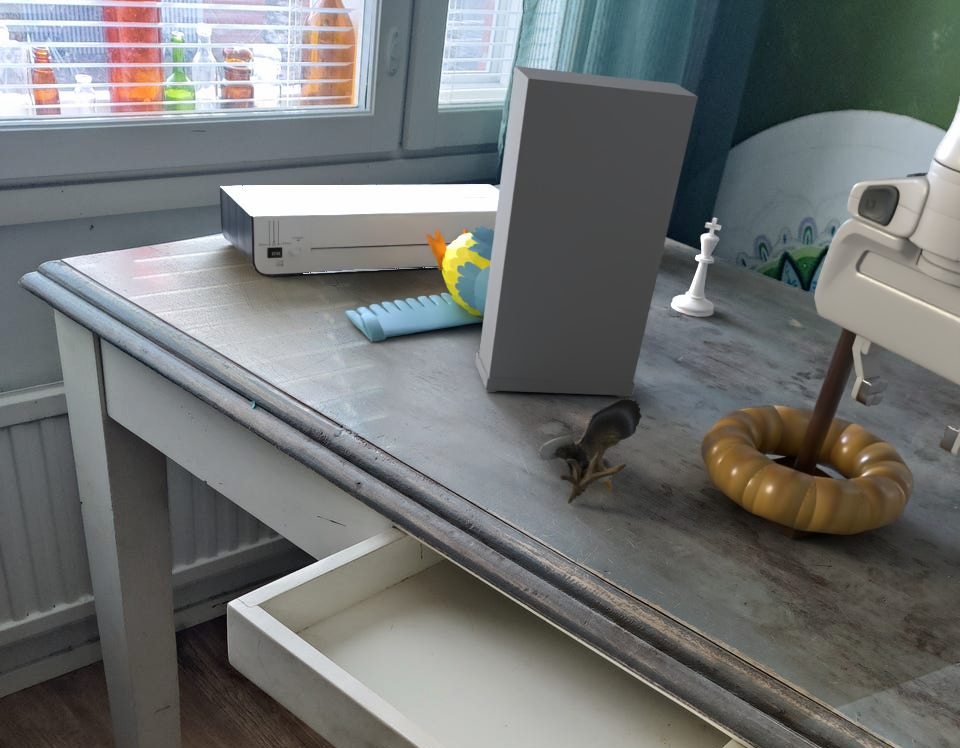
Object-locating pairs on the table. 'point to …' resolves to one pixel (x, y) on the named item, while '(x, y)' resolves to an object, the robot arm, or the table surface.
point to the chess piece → (699, 279)
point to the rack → (821, 419)
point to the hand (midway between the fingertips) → (908, 425)
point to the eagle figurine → (594, 446)
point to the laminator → (349, 224)
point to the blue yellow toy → (465, 281)
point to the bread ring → (796, 495)
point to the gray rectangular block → (580, 229)
